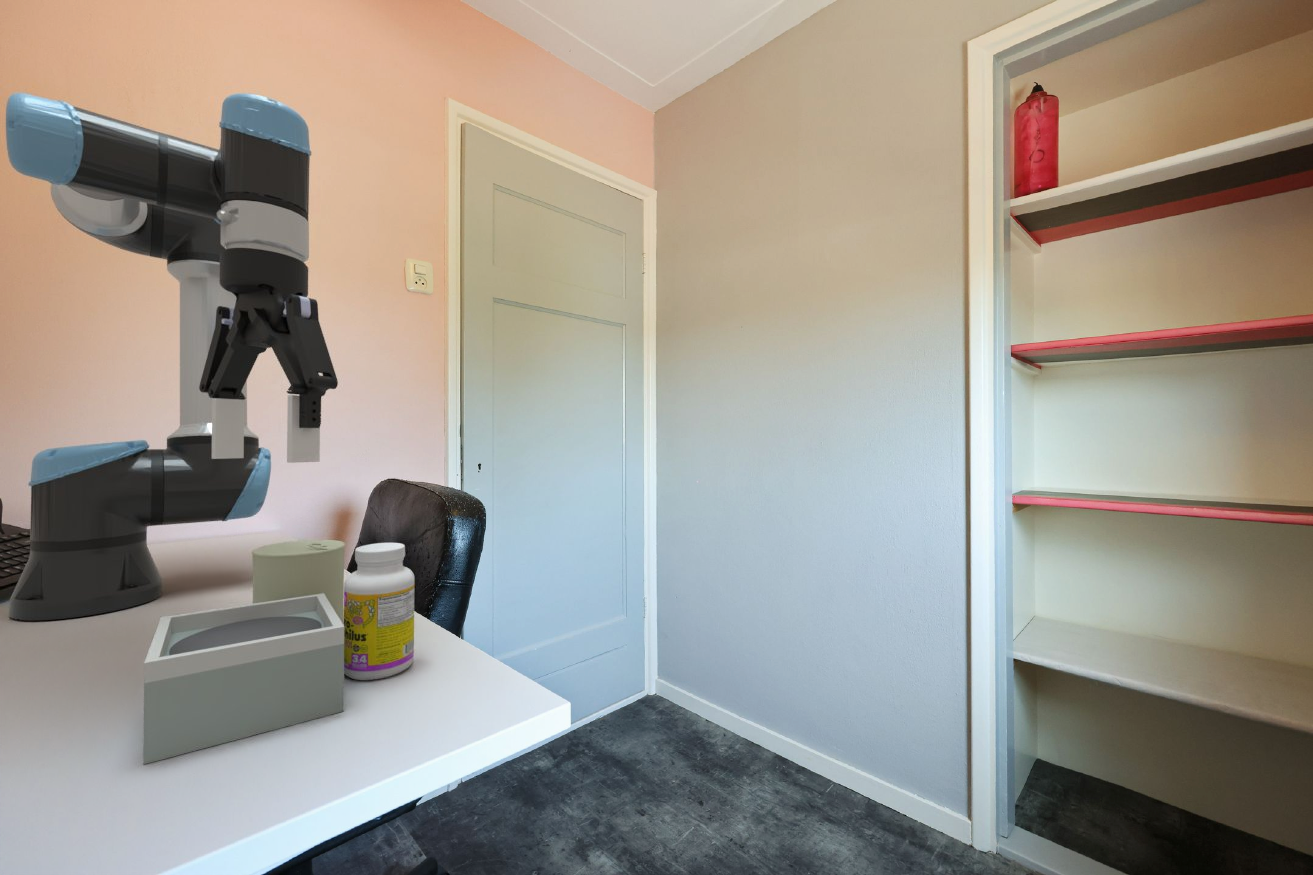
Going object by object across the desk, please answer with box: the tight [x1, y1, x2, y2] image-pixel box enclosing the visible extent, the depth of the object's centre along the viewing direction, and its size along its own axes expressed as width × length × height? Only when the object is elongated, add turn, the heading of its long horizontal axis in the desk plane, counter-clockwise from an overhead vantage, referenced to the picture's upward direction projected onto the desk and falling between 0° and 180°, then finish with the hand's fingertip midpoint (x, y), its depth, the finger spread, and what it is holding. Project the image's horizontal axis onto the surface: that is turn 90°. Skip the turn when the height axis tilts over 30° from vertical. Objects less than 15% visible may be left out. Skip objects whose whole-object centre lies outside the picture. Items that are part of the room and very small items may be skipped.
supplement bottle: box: [343, 542, 416, 681], centre depth 57 cm, size 7×7×13 cm
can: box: [251, 539, 346, 625], centre depth 64 cm, size 9×9×12 cm
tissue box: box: [142, 593, 345, 765], centre depth 49 cm, size 13×13×8 cm
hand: (263, 460), depth 57 cm, fingers open, 13 cm apart
